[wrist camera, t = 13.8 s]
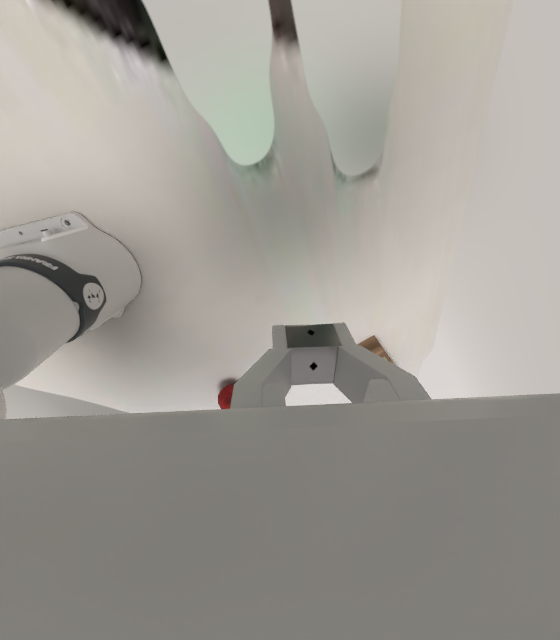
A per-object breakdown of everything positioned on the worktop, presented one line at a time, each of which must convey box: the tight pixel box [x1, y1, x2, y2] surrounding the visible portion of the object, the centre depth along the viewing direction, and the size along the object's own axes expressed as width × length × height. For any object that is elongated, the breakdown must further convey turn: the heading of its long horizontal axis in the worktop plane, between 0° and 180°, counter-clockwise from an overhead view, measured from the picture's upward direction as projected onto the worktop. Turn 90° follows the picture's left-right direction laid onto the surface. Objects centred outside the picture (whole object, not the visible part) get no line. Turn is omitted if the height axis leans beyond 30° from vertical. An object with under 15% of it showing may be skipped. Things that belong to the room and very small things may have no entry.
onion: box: [218, 384, 234, 409], centre depth 55 cm, size 6×6×8 cm
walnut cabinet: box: [357, 335, 394, 364], centre depth 55 cm, size 4×6×12 cm
